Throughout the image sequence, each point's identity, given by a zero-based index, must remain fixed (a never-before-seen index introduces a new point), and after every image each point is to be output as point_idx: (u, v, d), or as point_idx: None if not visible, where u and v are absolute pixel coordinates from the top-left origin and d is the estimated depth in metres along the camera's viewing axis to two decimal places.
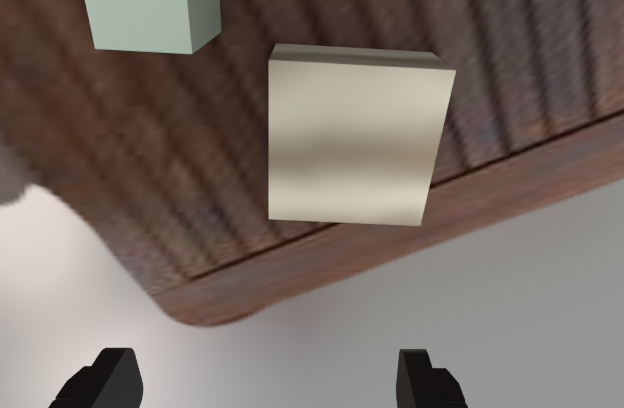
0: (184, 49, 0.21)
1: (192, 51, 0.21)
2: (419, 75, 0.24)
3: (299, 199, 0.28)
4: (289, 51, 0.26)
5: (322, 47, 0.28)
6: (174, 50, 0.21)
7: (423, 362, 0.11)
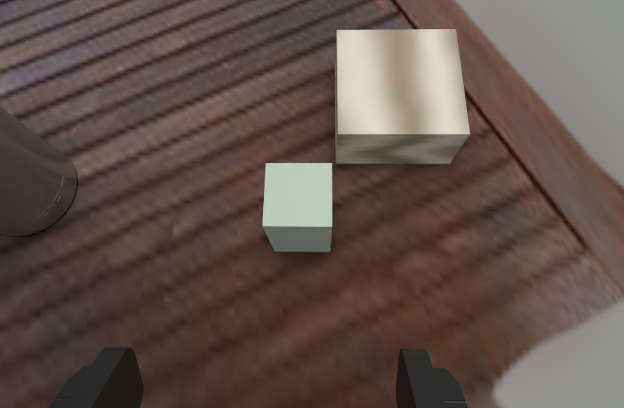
0: (329, 168, 0.30)
1: None
2: (341, 48, 0.37)
3: (446, 112, 0.34)
4: (336, 140, 0.37)
5: (335, 131, 0.40)
6: (330, 174, 0.30)
7: (423, 362, 0.11)
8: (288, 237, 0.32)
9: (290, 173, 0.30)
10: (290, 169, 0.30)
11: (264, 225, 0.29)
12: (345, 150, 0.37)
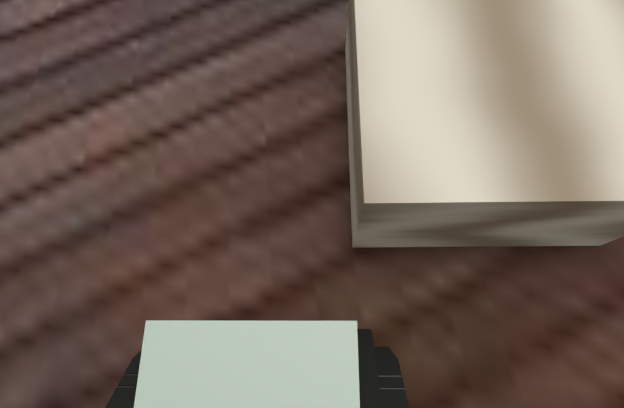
0: (348, 338, 0.09)
1: (351, 321, 0.10)
2: None
3: None
4: (355, 204, 0.16)
5: (350, 176, 0.19)
6: (352, 362, 0.09)
7: (365, 340, 0.12)
8: None
9: (221, 359, 0.09)
10: (222, 344, 0.09)
11: None
12: (377, 229, 0.16)
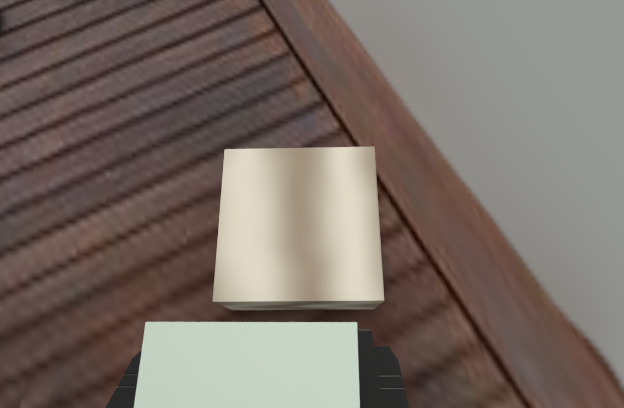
0: (348, 339, 0.09)
1: (351, 322, 0.10)
2: (228, 175, 0.29)
3: (355, 267, 0.26)
4: None
5: None
6: (352, 363, 0.09)
7: (365, 340, 0.12)
8: None
9: (221, 361, 0.09)
10: (222, 345, 0.09)
11: None
12: (234, 306, 0.29)
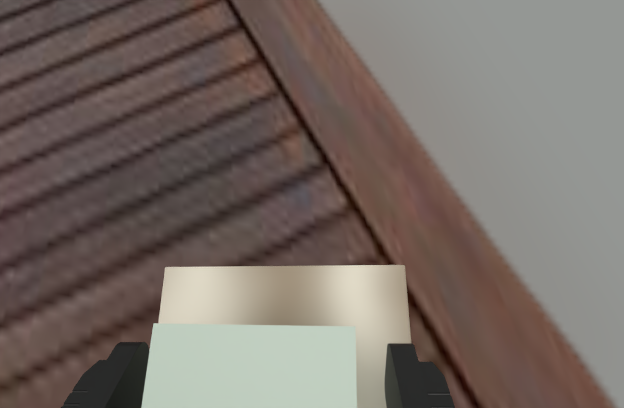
0: (347, 342, 0.10)
1: None
2: (168, 313, 0.18)
3: None
4: None
5: None
6: (350, 366, 0.10)
7: (409, 355, 0.11)
8: None
9: (225, 361, 0.10)
10: (226, 347, 0.10)
11: None
12: None
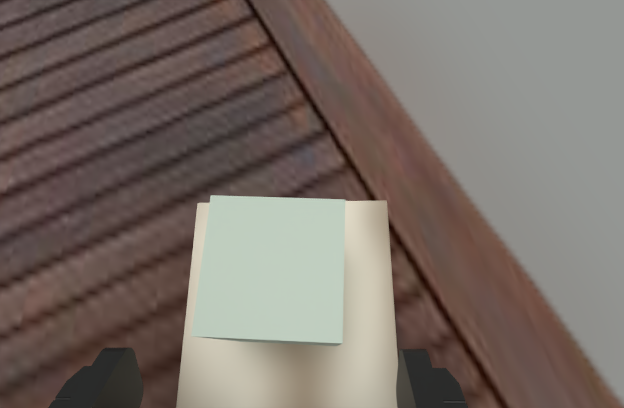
0: (339, 209, 0.15)
1: (342, 200, 0.15)
2: (201, 237, 0.23)
3: (363, 366, 0.20)
4: None
5: None
6: (341, 222, 0.15)
7: (423, 362, 0.11)
8: None
9: (258, 218, 0.15)
10: (259, 210, 0.15)
11: (195, 334, 0.13)
12: None
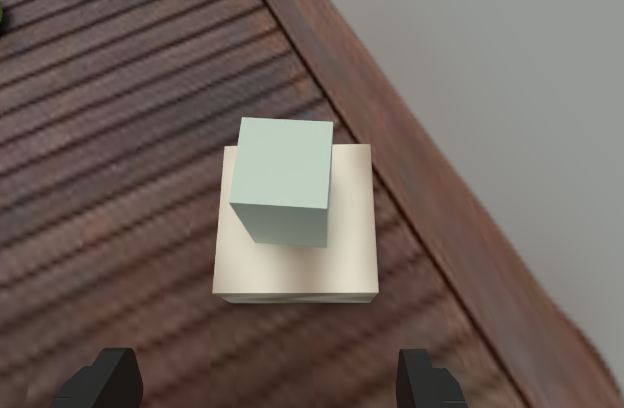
0: (328, 128, 0.22)
1: (331, 123, 0.22)
2: (228, 171, 0.30)
3: (350, 260, 0.27)
4: None
5: None
6: (329, 136, 0.22)
7: (423, 362, 0.11)
8: (268, 222, 0.23)
9: (274, 132, 0.22)
10: (274, 127, 0.22)
11: (231, 201, 0.20)
12: (234, 298, 0.30)
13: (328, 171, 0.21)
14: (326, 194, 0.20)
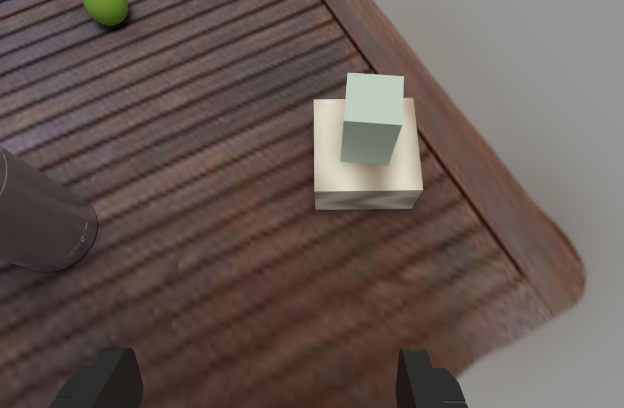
0: (401, 80, 0.36)
1: (402, 77, 0.36)
2: (317, 115, 0.44)
3: (403, 171, 0.42)
4: None
5: None
6: (402, 84, 0.36)
7: (423, 362, 0.11)
8: (359, 139, 0.37)
9: (368, 82, 0.36)
10: (368, 79, 0.36)
11: (345, 120, 0.35)
12: (322, 201, 0.44)
13: (402, 104, 0.35)
14: (401, 117, 0.35)
